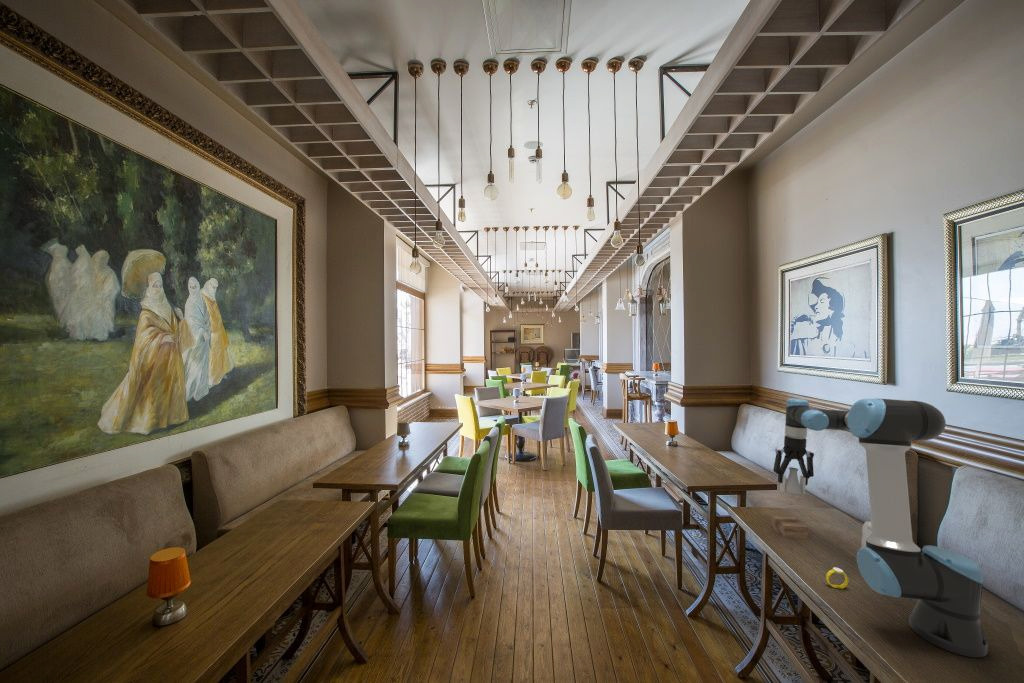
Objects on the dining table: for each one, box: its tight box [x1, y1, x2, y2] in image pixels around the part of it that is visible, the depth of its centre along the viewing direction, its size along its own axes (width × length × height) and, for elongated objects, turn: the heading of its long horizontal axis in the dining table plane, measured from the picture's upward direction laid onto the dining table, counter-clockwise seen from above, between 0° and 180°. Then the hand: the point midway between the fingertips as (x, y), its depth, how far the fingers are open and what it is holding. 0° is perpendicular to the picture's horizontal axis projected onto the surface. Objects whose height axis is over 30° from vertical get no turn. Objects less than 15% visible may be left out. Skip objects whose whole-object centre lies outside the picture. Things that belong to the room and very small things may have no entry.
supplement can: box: [860, 520, 872, 548], centre depth 152 cm, size 8×8×15 cm
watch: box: [825, 566, 849, 590], centre depth 139 cm, size 6×3×6 cm, turn 80°
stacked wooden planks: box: [771, 515, 809, 540], centre depth 176 cm, size 9×9×5 cm
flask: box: [784, 466, 804, 496], centre depth 175 cm, size 7×7×10 cm
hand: (792, 491), depth 175 cm, fingers closed on flask, 7 cm apart
